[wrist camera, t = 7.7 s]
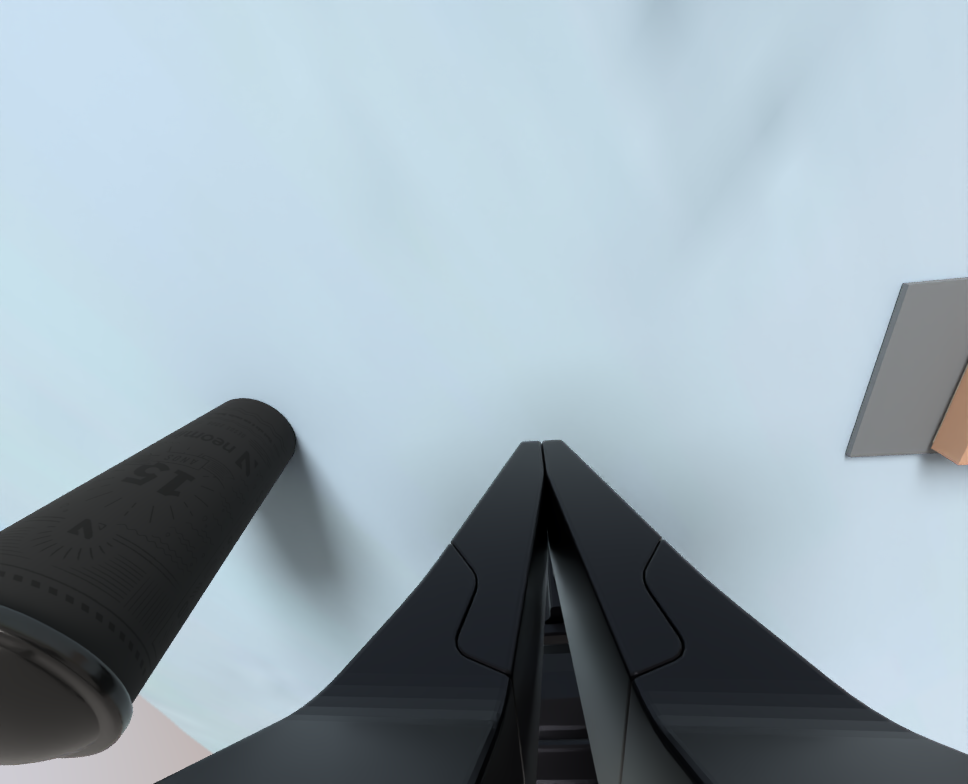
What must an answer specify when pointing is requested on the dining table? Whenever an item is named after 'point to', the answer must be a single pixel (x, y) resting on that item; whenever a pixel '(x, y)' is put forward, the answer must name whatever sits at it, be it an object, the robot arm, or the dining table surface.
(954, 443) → the tile
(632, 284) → the dining table surface
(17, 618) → the drinking cup
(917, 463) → the dining table surface
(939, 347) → the mat
